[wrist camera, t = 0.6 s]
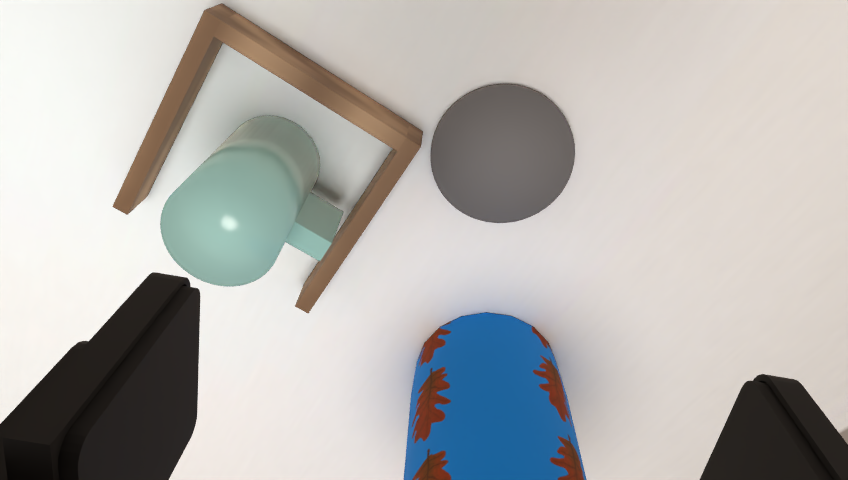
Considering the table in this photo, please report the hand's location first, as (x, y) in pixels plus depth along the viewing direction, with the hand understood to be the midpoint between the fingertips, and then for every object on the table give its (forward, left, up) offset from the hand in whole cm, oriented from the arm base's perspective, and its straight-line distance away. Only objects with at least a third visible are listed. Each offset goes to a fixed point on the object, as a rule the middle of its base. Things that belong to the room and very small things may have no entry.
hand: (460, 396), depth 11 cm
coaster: (+6, -4, -31) cm, 32 cm away
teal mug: (-5, -12, -31) cm, 34 cm away
